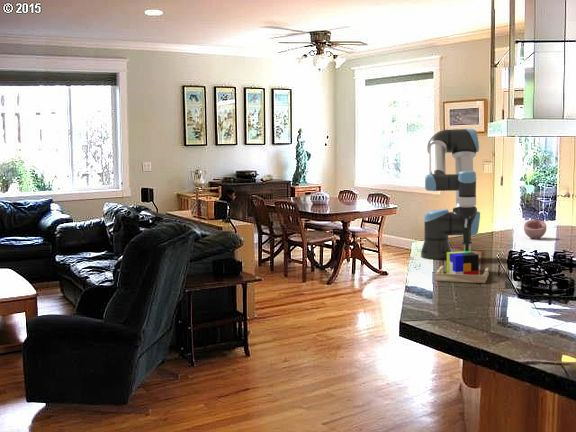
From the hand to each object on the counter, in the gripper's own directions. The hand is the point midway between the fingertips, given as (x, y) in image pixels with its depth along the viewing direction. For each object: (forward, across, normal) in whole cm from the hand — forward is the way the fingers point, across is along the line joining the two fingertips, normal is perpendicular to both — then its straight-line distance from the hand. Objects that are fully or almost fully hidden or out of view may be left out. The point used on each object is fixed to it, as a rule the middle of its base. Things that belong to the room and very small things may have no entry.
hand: (467, 258), depth 295 cm
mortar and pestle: (+7, -97, +27) cm, 101 cm away
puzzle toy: (+5, +18, 0) cm, 19 cm away
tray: (+4, +19, 0) cm, 19 cm away
